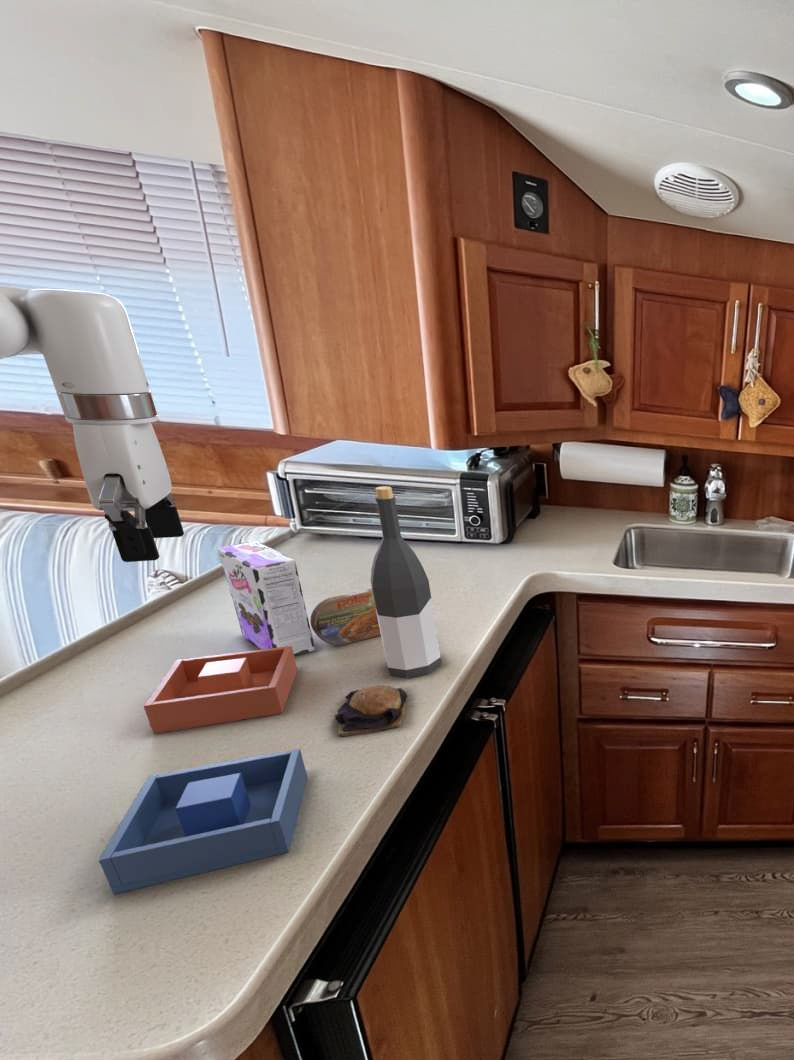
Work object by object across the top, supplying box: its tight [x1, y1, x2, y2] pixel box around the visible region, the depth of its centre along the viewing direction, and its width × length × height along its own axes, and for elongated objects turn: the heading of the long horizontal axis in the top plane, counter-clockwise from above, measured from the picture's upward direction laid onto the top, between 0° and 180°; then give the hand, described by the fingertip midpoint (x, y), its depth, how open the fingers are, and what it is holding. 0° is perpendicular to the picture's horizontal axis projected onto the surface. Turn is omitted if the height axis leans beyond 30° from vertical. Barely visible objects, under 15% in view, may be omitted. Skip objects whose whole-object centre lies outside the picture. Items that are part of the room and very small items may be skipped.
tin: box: [309, 587, 381, 646], centre depth 112 cm, size 15×3×8 cm, turn 141°
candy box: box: [217, 540, 316, 657], centre depth 105 cm, size 14×6×16 cm, turn 57°
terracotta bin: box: [143, 646, 299, 734], centre depth 92 cm, size 14×14×4 cm
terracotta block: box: [198, 658, 254, 695], centre depth 91 cm, size 4×4×4 cm
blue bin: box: [98, 748, 308, 895], centre depth 69 cm, size 14×14×4 cm
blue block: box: [175, 773, 251, 837], centre depth 69 cm, size 4×4×4 cm
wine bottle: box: [370, 485, 442, 679], centre depth 99 cm, size 8×8×30 cm
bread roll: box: [334, 684, 408, 737], centre depth 91 cm, size 11×8×4 cm
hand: (155, 548), depth 80 cm, fingers open, 9 cm apart
